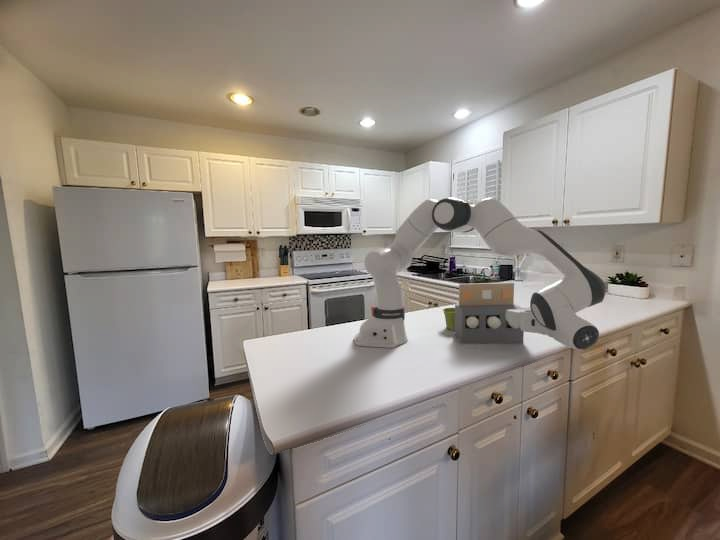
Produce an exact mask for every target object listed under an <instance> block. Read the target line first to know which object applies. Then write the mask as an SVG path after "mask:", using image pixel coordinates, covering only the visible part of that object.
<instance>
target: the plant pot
mask: <svg viewBox="0 0 720 540" xmlns="http://www.w3.org/2000/svg"><path fill="white" fill-rule="evenodd" d="M442 312H443V314H444V319H445V325H446V329H448V330H450V331H451V330H452V331H455V307H446V308H443V309H442Z"/></svg>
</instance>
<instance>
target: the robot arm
mask: <svg viewBox="0 0 720 540" xmlns="http://www.w3.org/2000/svg"><path fill="white" fill-rule="evenodd" d="M438 229H440V230H443V231H447V232H452V233H469V232H472V231H474V230H476V232H477V233H478V234H479V235H480V237H481V238H482V240H483V241H484V243H485V244H486V245H487V247H488V248H489V249H490V250H491V251H492V252H493V253H494V254H497V255H499V256H500V255H501V256H503V257H504V256H505V257H506V256H507V257H508V256H509V257H511V256H512V257H513V256H519V255H526V254H535V255H540V256H542V257H544V258H545V259H546V260H547V261H548V262H550V264H552V265H553V266H554V267H555V268H556V269H557V270H558V271H559V272H560V273H562V274H563V276H564V277H562V278H561V279H558V280H556V281H555V282H553V283H551V284H549V285H546V286H544V287H542V288H540V289H538V290H537V291H535V292H533V293H532V295H531V297H530V306H529V307H522V308H523V309H508V310H506V320H507V321H508V322H509V323H511V324H513V325H514V326H517V327H520V330H521V331H524V333H534V334H540V335H543V336H548V337H549V338H551V339H554V340H555V341H556V342H558V343H560V344H562V345H564V346H565V347H568V348H570V349H573V350H578V351H583V350H584V351H586V350H588V349H589V348H591V347H593V346H594V345H595V344H596V343H598V340H599V338H600V331H599V329H598V328H597V326H595V325H594V324H593V323H591V322H589V321H588V320H585V318H582V317H581V316H578V315H577V313H579V312H580V311H582V310H584V309H586V308H590V307H593V306H595V305H598V304H600V303H602V302H603V301H604V299H605V296H606V292H607V287H606V283H605V282H604V281H603V279H602V278H601V277H600V276H599V275H597V274H596V273H595V272H593V271H592V270H591V269H589V268H587V267H586V266H584V265H583V264H582V263H581V262H579V261H578V260H577V259H575V257H574V256H572V255H571V254H570V253H569V252H568V251H567V250H565V249H564V248H563V247H562V246H561V245H560V244H559V243H558V242H556V241H555V239H553V238H552V237H550V236H549V235H548V234H546V233H545V232H544V231H542V230H541V229H533V228H529V227H527V226H526V225H524V224H522V223H521V222H520V221H519V220H518V219H517V218H516V217H515V215H514V214H513V213H512V212H511V211H510V210H509V209H508V208H507V207H506V206H505V205H504V204H503V203H502V202H500V201H499V200H498V199H496V198H494V197H488V198H487V197H486V198H483V199H482V200H480V201H478V202H477V203H475V204H474V203H471V202H469V201H468V200H465V199H461V198H456V197H446V198H442V199H440V200H437V199H435V198H433V199H432V198H428V199H425V200H424V201H422V203H420V204H419V205H418V206H417V207H416V208H415V209H414V210H413V211H412V212H411V213H410V214H409V216H407V218H406V219H405V220H404V221H403V222H402V224H401V225H400V226H399V228H397V230H396V232H395V237H394V240H393V242H392V243H391V245H389V246H388V247H382V248H381V247H380V248H376V249H373V250H371V251H369V252H368V253H367V254H366V255H365V258H364V262H363V263H364V268H365V271H366V272H367V273H368V274H369V275H370V276H371V278H372V280H373V283H374V286H375V294H376V295H375V296H376V306H375V305H372V306H371V307H370V310H371V316H370V317H369V318H367V319H366V320H364V322H362V324H361V325H360V326H359V331H358V333H356V334H355V335H354V336H353V337H354V338H353V340H354V341H353V342H354V344H355V345H356V346H359V347H370V348H371V347H373V348H387V349H388V348H389V349H395V348H396V347H398V346H400V345H403V344H405V343H407V342H408V340H409V339H408V336H407V332H406V326H405V316H406V315H405V313H406V311H405V307H404V288H403V286H402V285H400V283H399V280H398V276H397V275H398V273H402V272H403V271H406V270H407V269H408V268H409V267H410V266H411V265H412V262H413V261H412V260H413V258H414V256H415V255H416V253H417V252H418V250H419V249H420V248H421V247H422V246H423V245H424V244H425V243H426V242H427V240H428V239H429V238H430V237H431V236H432V235H433V234H434V233H436V230H438Z"/></svg>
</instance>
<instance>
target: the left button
mask: <svg viewBox="0 0 720 540" xmlns="http://www.w3.org/2000/svg"><path fill="white" fill-rule="evenodd" d="M465 323H466V324H467V325H468V326H469V327H470V328H475V327H477V326H478V324H479V321H478V319H477V318H476V317H474V316H473V315H468V316H466V317H465Z"/></svg>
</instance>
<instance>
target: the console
mask: <svg viewBox="0 0 720 540" xmlns="http://www.w3.org/2000/svg"><path fill="white" fill-rule="evenodd" d="M514 295H515V283H514V282H496V283H495V282H490V283H489V282H488V283H487V282H486V283H485V282H484V283H482V282H479V283H459V284H458V303H455V304H454V308H455V330H454V337H456V340H458V341H459V343H460V344H461V345H493V344H494V345H495V344H499V345H501V344H502V345H505V344H509V345H511V344H524V336H525V335H524V334H525V332H524V331H521V330H520V327H519V328H513V327H511V326H510V325H508V324H507V320H506V310H508V309H523V308H524V307H522V306H520V305H517V304H516V303H514V298H515V296H514ZM468 315H473V316H474V317H476V318H477V319H478V321H479V324H478V326H477V327H475V328H470V327H469V326H468V325H467V324H466V323H465V317H466V316H468ZM490 315H493V316H495V317H497V318H498V319H499V320H500V321H501V325H500V327H499V328H497V329H493V328H491V327H490V326H489V325H487V323H486V318H487V317H488V316H490Z"/></svg>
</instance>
